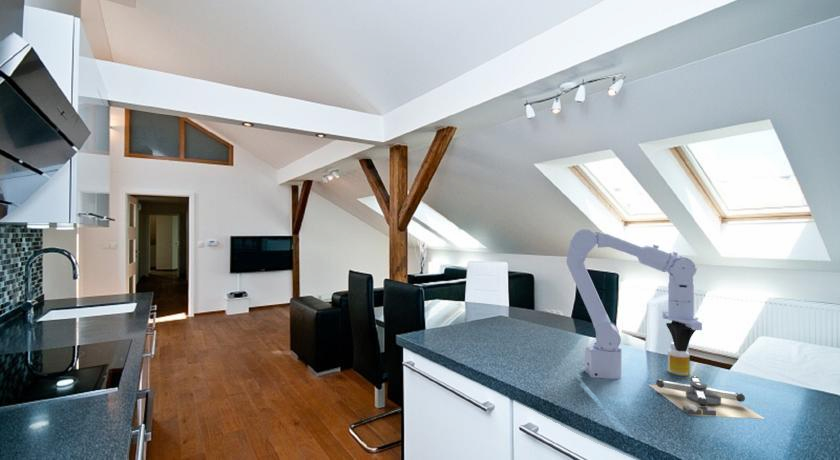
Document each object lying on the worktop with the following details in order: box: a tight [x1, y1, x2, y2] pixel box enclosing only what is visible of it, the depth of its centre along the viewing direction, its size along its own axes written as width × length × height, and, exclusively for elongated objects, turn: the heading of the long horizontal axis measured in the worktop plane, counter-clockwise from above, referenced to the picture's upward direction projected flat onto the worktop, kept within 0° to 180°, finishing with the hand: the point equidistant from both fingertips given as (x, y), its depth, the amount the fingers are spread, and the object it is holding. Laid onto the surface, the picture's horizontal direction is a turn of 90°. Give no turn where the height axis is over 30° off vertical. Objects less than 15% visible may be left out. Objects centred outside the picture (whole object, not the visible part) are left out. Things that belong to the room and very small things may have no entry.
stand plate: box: [648, 384, 766, 420], centre depth 95 cm, size 16×18×1 cm
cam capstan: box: [655, 375, 746, 407], centre depth 96 cm, size 18×18×4 cm
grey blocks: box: [682, 405, 716, 415], centre depth 88 cm, size 6×2×2 cm, turn 85°
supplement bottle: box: [667, 341, 691, 377], centre depth 114 cm, size 5×5×10 cm
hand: (680, 350), depth 105 cm, fingers closed
